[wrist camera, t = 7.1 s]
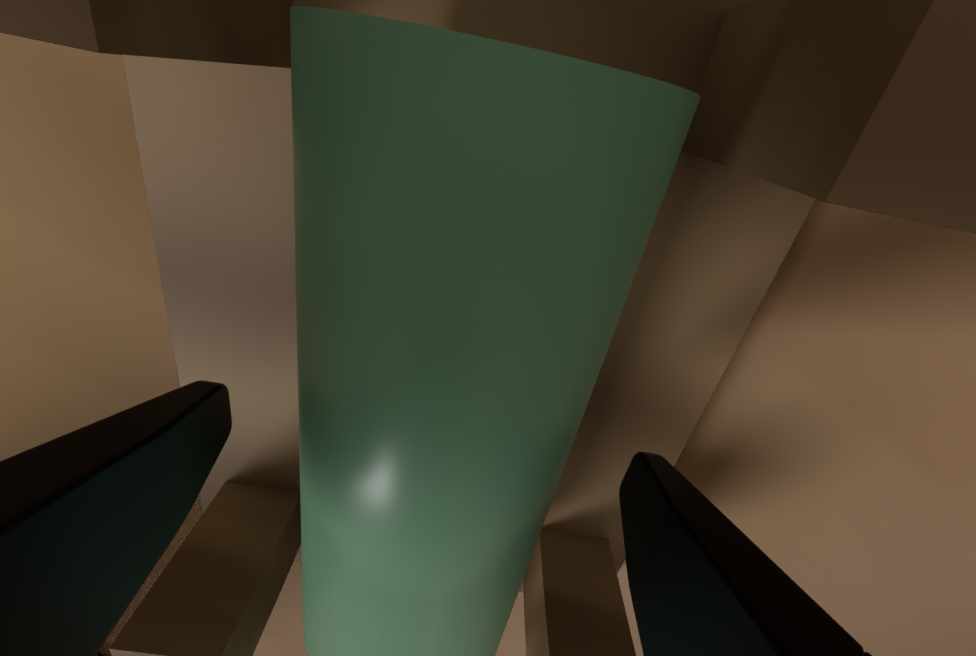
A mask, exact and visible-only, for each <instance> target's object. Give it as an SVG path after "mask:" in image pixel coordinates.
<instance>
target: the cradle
mask: <svg viewBox="0 0 976 656" xmlns="http://www.w3.org/2000/svg"><path fill="white" fill-rule="evenodd" d="M291 6H310V7H319V8H327V9H334V10H341V11H348V12H354V13H360V14H366V15H372V16H378V17H384V18H389V19H394V20H400V21H405V22H410V23H416V24H421V25H426V26H431V27H436V28H441V29H446V30H451V31H456V32H461V33H465V34H470V35H475V36H480V37H484V38H489V39H494V40H498V41H503V42H507V43H512V44H516V45H521V46H525V47H530V48H534V49H539V50H543V51H547V52H551V53H556V54H560V55H564V56H568V57H573V58H577V59H581V60H585V61H589V62H593V63H597V64H601V65H605V66H609V67H613V68H616V69H620V70H624V71H628V72H632V73H635V74H639V75H643V76H646V77H650V78H653V79H657V80H660V81H663V82H667V83H670V84H673V85H676V86H679V87H682V88H685V89H688V90H690V91H693V92H695V93H697V94H699V95H700V96H701V98H700V100H699V103H698V106H697V109H696V111H695V114H694V117H693V119H692V122H691V125H690V128H689V130H688V133H687V136H686V138H685V141H684V144H683V147H682V149H681V152H680V155H679V157H678V160H677V163H676V166H675V168H674V171H673V174H672V176H671V179H670V182H669V185H668V187H667V190H666V193H665V195H664V198H663V201H662V204H661V206H660V209H659V212H658V214H657V217H656V220H655V223H654V225H653V228H652V231H651V233H650V236H649V239H648V242H647V244H646V247H645V250H644V252H643V255H642V258H641V261H640V263H639V266H638V269H637V271H636V274H635V277H634V280H633V282H632V285H631V288H630V290H629V293H628V296H627V298H626V301H625V304H624V307H623V309H622V312H621V315H620V317H619V320H618V323H617V326H616V328H615V331H614V334H613V336H612V339H611V342H610V345H609V347H608V350H607V353H606V355H605V358H604V361H603V364H602V366H601V369H600V372H599V374H598V377H597V380H596V383H595V385H594V388H593V391H592V393H591V396H590V399H589V402H588V404H587V407H586V410H585V412H584V415H583V418H582V421H581V423H580V426H579V429H578V431H577V434H576V437H575V440H574V442H573V445H572V448H571V450H570V453H569V456H568V459H567V461H566V464H565V467H564V469H563V472H562V475H561V478H560V480H559V483H558V486H557V488H556V491H555V494H554V497H553V499H552V502H551V505H550V507H549V510H548V513H547V516H546V518H545V521H544V524H543V526H542V529H541V532H540V535H539V537H538V540H537V543H536V545H535V548H534V551H533V554H532V556H531V559H530V562H529V564H528V567H527V570H526V573H525V575H524V578H523V581H522V583H521V586H520V589H519V591H518V592H524V613H525V636H526V656H636V654H635V649H634V645H633V641H632V637H631V633H630V628H629V624H628V620H627V616H626V611H625V607H624V603H623V599H622V595H621V590H620V586H619V582H618V578H617V573H618V571H619V569H620V568H621V566H622V564H623V562H624V560H625V558H626V556H625V547H624V538H623V528H622V519H621V510H620V501H619V489H620V485H621V482H622V480H623V478H624V475H625V473H626V471H627V469H628V467H629V465H630V462H631V460H632V458H633V456H634V455H635V454H636V453H637V452H641V451H642V452H648V453H654V454H659V455H661V456H663V457H664V458H665V459H666V460H667V461H668V462H669V463H670V464H671V465H673V466H675V464H676V462H677V460H678V458H679V456H680V455H681V453H682V451H683V449H684V447H685V445H686V443H687V441H688V440H689V438H690V436H691V434H692V432H693V430H694V428H695V426H696V424H697V423H698V421H699V419H700V417H701V415H702V413H703V411H704V409H705V407H706V406H707V404H708V402H709V400H710V398H711V396H712V394H713V392H714V391H715V389H716V387H717V385H718V383H719V381H720V379H721V377H722V375H723V374H724V372H725V370H726V368H727V366H728V364H729V362H730V360H731V359H732V357H733V355H734V353H735V351H736V349H737V347H738V345H739V343H740V342H741V340H742V338H743V336H744V334H745V332H746V330H747V328H748V326H749V325H750V323H751V321H752V319H753V317H754V315H755V313H756V311H757V310H758V308H759V306H760V304H761V302H762V300H763V298H764V296H765V294H766V293H767V291H768V289H769V287H770V285H771V283H772V281H773V279H774V277H775V276H776V274H777V272H778V270H779V268H780V266H781V264H782V262H783V261H784V259H785V257H786V255H787V253H788V251H789V249H790V247H791V245H792V244H793V242H794V240H795V238H796V236H797V234H798V232H799V230H800V229H801V227H802V225H803V223H804V221H805V219H806V217H807V215H808V213H809V212H810V210H811V208H812V206H813V204H814V202H815V200H816V199H818V200H820V201H823V202H827V203H832V204H837V205H842V206H846V207H851V208H856V209H861V210H866V211H871V212H876V213H880V214H885V215H890V216H895V217H900V218H905V219H910V220H914V221H919V222H924V223H929V224H934V225H939V226H944V227H948V228H953V229H958V230H963V231H968V232H973V233H976V0H0V32H1V33H5V34H10V35H15V36H20V37H25V38H30V39H35V40H39V41H44V42H49V43H54V44H59V45H64V46H69V47H73V48H78V49H83V50H88V51H93V52H98V53H108V54H120V55H122V58H123V64H124V69H125V75H126V81H127V86H128V92H129V98H130V103H131V109H132V115H133V120H134V126H135V132H136V137H137V143H138V149H139V155H140V160H141V166H142V172H143V177H144V183H145V189H146V194H147V200H148V206H149V211H150V217H151V223H152V228H153V234H154V240H155V246H156V251H157V257H158V263H159V268H160V274H161V280H162V285H163V291H164V297H165V302H166V308H167V314H168V319H169V325H170V331H171V337H172V342H173V348H174V354H175V359H176V365H177V371H178V376H179V382H180V387H183V386H185V385H188V384H190V383H192V382H195V381H199V380H205V381H211V382H217V383H222V384H224V385H226V386H227V388H228V391H229V398H230V407H231V415H232V428H231V432H230V435H229V437H228V439H227V441H226V443H225V445H224V447H223V449H222V451H221V453H220V455H219V456H218V458H217V460H216V462H215V464H214V466H213V468H212V470H211V472H210V474H209V476H208V477H207V479H206V481H205V483H204V485H203V487H202V489H201V491H200V493H199V496H200V501H201V507H202V513H203V515H202V516H201V517H200V519H199V520H198V522H197V523H196V525H195V526H194V527H193V529H192V530H191V532H190V533H189V535H188V536H187V538H186V539H185V540H184V542H183V543H182V545H181V546H180V548H179V549H178V550H177V552H176V553H175V555H174V556H173V558H172V559H171V560H170V562H169V563H168V565H167V566H166V568H165V569H164V571H163V572H162V573H161V575H160V576H159V578H158V579H157V581H156V582H155V583H154V585H153V586H152V588H151V589H150V591H149V592H148V594H147V595H146V596H145V598H144V599H143V601H142V602H141V604H140V605H139V606H138V608H137V609H136V611H135V612H134V614H133V615H132V617H131V618H130V619H129V621H128V622H127V624H126V625H125V627H124V628H123V629H122V631H121V632H120V634H119V635H118V637H117V638H116V640H115V641H114V642H113V644H112V645H111V647H110V648H109V650H110V652H111V655H112V656H252V655H253V653H254V651H255V649H256V646H257V644H258V642H259V639H260V637H261V635H262V632H263V630H264V628H265V626H266V623H267V621H268V619H269V616H270V614H271V612H272V610H273V607H274V605H275V603H276V600H277V598H278V596H279V593H280V591H281V589H282V587H283V584H284V582H285V580H286V577H287V575H288V573H289V571H290V568H291V566H292V564H293V561H299V562H302V552H301V505H300V459H299V413H298V366H297V320H296V274H295V227H294V181H293V135H292V88H291V42H290V7H291Z"/></svg>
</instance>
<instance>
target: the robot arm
mask: <svg viewBox="0 0 976 656" xmlns="http://www.w3.org/2000/svg"><path fill="white" fill-rule="evenodd" d="M231 428H232V415H231V407H230V398H229V391H228V388H227V386H226V385H224V384H222V383H217V382H211V381H205V380H199V381H195V382H192V383H190V384H188V385H185V386H183V387H180V388H178V389H175V390H173V391H170V392H168V393H166V394H163V395H161V396H158V397H156V398H153V399H151V400H149V401H146V402H144V403H141V404H139V405H136V406H134V407H132V408H129V409H127V410H124V411H122V412H119V413H117V414H114V415H112V416H110V417H107V418H105V419H102V420H100V421H97V422H95V423H93V424H90V425H88V426H85V427H83V428H80V429H78V430H76V431H73V432H71V433H68V434H66V435H63V436H61V437H58V438H56V439H54V440H51V441H49V442H46V443H44V444H41V445H39V446H37V447H34V448H32V449H29V450H27V451H24V452H22V453H19V454H17V455H15V456H12V457H10V458H7V459H5V460H2V461H0V656H95V655H96V654H97V652H98V651H99V649H100V648H101V646H102V645H103V643H104V642H105V640H106V639H107V637H108V636H109V634H110V633H111V631H112V630H113V628H114V627H115V625H116V624H117V622H118V621H119V619H120V618H121V616H122V615H123V613H124V612H125V610H126V609H127V607H128V606H129V604H130V603H131V601H132V600H133V598H134V597H135V595H136V594H137V592H138V591H139V589H140V588H141V586H142V585H143V583H144V582H145V580H146V579H147V577H148V575H149V574H150V572H151V571H152V569H153V568H154V566H155V565H156V563H157V562H158V560H159V559H160V557H161V556H162V554H163V553H164V551H165V550H166V548H167V547H168V545H169V544H170V542H171V541H172V539H173V538H174V536H175V535H176V533H177V532H178V530H179V528H180V527H181V525H182V524H183V522H184V520H185V519H186V517H187V515H188V513H189V511H190V510H191V508H192V506H193V504H194V502H195V500H196V498H197V497H198V495H199V493H200V491H201V489H202V487H203V485H204V483H205V481H206V479H207V477H208V476H209V474H210V472H211V470H212V468H213V466H214V464H215V462H216V460H217V458H218V456H219V455H220V453H221V451H222V449H223V447H224V445H225V443H226V441H227V439H228V437H229V435H230V432H231ZM619 501H620V510H621V519H622V528H623V538H624V547H625V556H626V565H627V574H628V581H629V587H630V593H631V598H632V603H633V607H634V612H635V617H636V621H637V626H638V631H639V635H640V640H641V645H642V649H643V654H644V656H872V655H871V654H869V653H867V652H864V651H863V648H862V646H861V645H860V644H859V643H858V642H857V641H856V640H855V639H854V638H853V637H852V636H851V635H850V634H848V633H847V632H846V631H845V630H844V629H843V628H842V627H841V626H840V625H839V624H838V623H837V622H836V621H835V620H834V619H833V618H832V617H831V616H830V615H829V614H828V613H826V612H825V611H824V610H823V609H822V608H821V607H820V606H819V605H818V604H817V603H816V602H815V601H814V600H813V599H812V598H811V597H810V596H809V595H808V594H807V593H806V592H804V591H803V590H802V589H801V588H800V587H799V586H798V585H797V584H796V583H795V582H794V581H793V580H792V579H791V578H790V577H789V576H788V575H787V574H786V573H785V572H784V571H782V570H781V569H780V568H779V567H778V566H777V565H776V564H775V563H774V562H773V561H772V560H771V559H770V558H769V557H768V556H767V555H766V554H765V553H764V552H763V551H762V550H760V549H759V548H758V547H757V546H756V545H755V544H754V543H753V542H752V541H751V540H750V539H749V538H748V537H747V536H746V535H745V534H744V533H743V532H742V531H741V530H740V529H738V528H737V527H736V526H735V525H734V524H733V523H732V522H731V521H730V520H729V519H728V518H727V517H726V516H725V515H724V514H723V513H722V512H721V511H720V510H719V509H718V508H717V507H715V506H714V505H713V504H712V503H711V502H710V501H709V500H708V499H707V498H706V497H705V496H704V495H703V494H702V493H701V492H700V491H699V490H698V489H697V488H696V487H695V486H693V485H692V484H691V483H690V482H689V481H688V480H687V479H686V478H685V477H684V476H683V475H682V474H681V473H680V472H679V471H678V470H677V469H676V468H675V467H674V466H673V465H671V464H670V463H669V462H668V461H667V460H666V459H665V458H664V457H663V456H661V455H659V454H654V453H648V452H642V451H641V452H637V453H636V454H635V455H634V456H633V458H632V460H631V462H630V465H629V467H628V469H627V471H626V473H625V475H624V478H623V480H622V482H621V485H620V489H619Z"/></svg>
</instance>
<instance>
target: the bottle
mask: <svg viewBox="0 0 976 656" xmlns="http://www.w3.org/2000/svg"><path fill="white" fill-rule="evenodd" d="M290 42H291V88H292V135H293V181H294V227H295V274H296V320H297V366H298V413H299V459H300V505H301V552H302V598H303V632H304V643H305V648H306V652H307V656H495V654H496V651H497V648H498V646H499V643H500V640H501V638H502V635H503V632H504V629H505V627H506V624H507V621H508V619H509V616H510V613H511V610H512V608H513V605H514V602H515V600H516V597H517V594H518V591H519V589H520V586H521V583H522V581H523V578H524V575H525V573H526V570H527V567H528V564H529V562H530V559H531V556H532V554H533V551H534V548H535V545H536V543H537V540H538V537H539V535H540V532H541V529H542V526H543V524H544V521H545V518H546V516H547V513H548V510H549V507H550V505H551V502H552V499H553V497H554V494H555V491H556V488H557V486H558V483H559V480H560V478H561V475H562V472H563V469H564V467H565V464H566V461H567V459H568V456H569V453H570V450H571V448H572V445H573V442H574V440H575V437H576V434H577V431H578V429H579V426H580V423H581V421H582V418H583V415H584V412H585V410H586V407H587V404H588V402H589V399H590V396H591V393H592V391H593V388H594V385H595V383H596V380H597V377H598V374H599V372H600V369H601V366H602V364H603V361H604V358H605V355H606V353H607V350H608V347H609V345H610V342H611V339H612V336H613V334H614V331H615V328H616V326H617V323H618V320H619V317H620V315H621V312H622V309H623V307H624V304H625V301H626V298H627V296H628V293H629V290H630V288H631V285H632V282H633V280H634V277H635V274H636V271H637V269H638V266H639V263H640V261H641V258H642V255H643V252H644V250H645V247H646V244H647V242H648V239H649V236H650V233H651V231H652V228H653V225H654V223H655V220H656V217H657V214H658V212H659V209H660V206H661V204H662V201H663V198H664V195H665V193H666V190H667V187H668V185H669V182H670V179H671V176H672V174H673V171H674V168H675V166H676V163H677V160H678V157H679V155H680V152H681V149H682V147H683V144H684V141H685V138H686V136H687V133H688V130H689V128H690V125H691V122H692V119H693V117H694V114H695V111H696V109H697V106H698V103H699V100H700V98H701V96H700V95H699V94H697V93H695V92H693V91H690V90H688V89H685V88H682V87H679V86H676V85H673V84H670V83H667V82H663V81H660V80H657V79H653V78H650V77H646V76H643V75H639V74H635V73H632V72H628V71H624V70H620V69H616V68H613V67H609V66H605V65H601V64H597V63H593V62H589V61H585V60H581V59H577V58H573V57H568V56H564V55H560V54H556V53H551V52H547V51H543V50H539V49H534V48H530V47H525V46H521V45H516V44H512V43H507V42H503V41H498V40H494V39H489V38H484V37H480V36H475V35H470V34H465V33H461V32H456V31H451V30H446V29H441V28H436V27H431V26H426V25H421V24H416V23H410V22H405V21H400V20H394V19H389V18H384V17H378V16H372V15H366V14H360V13H354V12H348V11H341V10H334V9H327V8H319V7H310V6H291V7H290Z"/></svg>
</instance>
